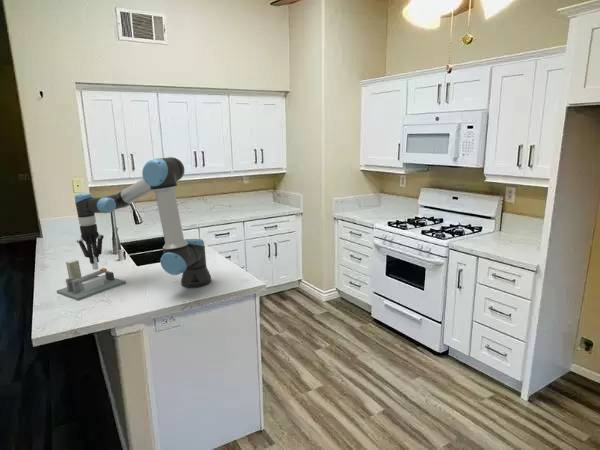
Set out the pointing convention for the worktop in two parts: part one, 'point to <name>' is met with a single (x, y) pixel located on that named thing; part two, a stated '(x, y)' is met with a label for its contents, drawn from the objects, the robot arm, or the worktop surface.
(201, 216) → the worktop surface
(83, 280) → the lever handle
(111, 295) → the worktop surface
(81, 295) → the clamp base
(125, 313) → the worktop surface
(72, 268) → the box
